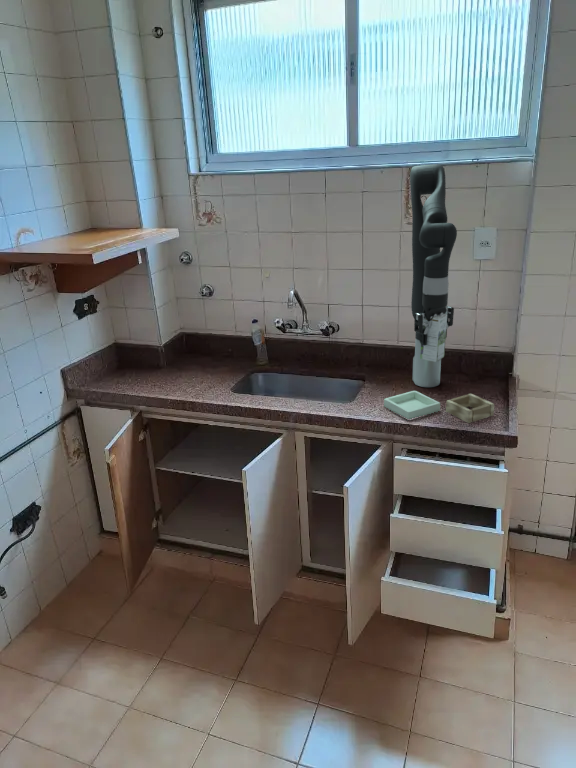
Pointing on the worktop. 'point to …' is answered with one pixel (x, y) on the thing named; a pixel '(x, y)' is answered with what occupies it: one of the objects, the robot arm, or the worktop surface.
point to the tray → (412, 404)
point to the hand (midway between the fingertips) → (433, 342)
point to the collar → (462, 412)
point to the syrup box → (435, 339)
